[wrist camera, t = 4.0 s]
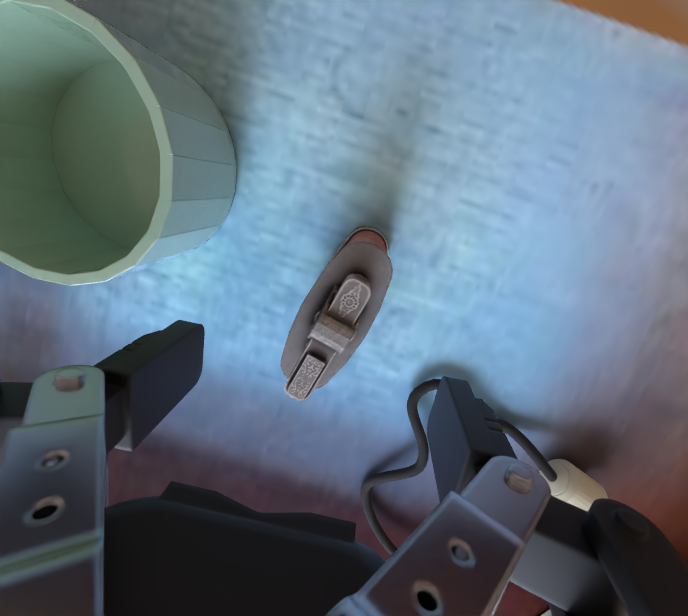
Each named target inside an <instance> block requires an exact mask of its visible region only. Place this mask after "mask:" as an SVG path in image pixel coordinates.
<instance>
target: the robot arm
mask: <svg viewBox="0 0 688 616" xmlns="http://www.w3.org/2000/svg"><path fill="white" fill-rule="evenodd" d="M203 348H204V327H203V325H202V324H197V323H192V322H187V321H183V320H178V321H176V322H174V323H173V324H171V325H170V326H168V327H167V328H165V329H164V330H162V331H160V330H159V331H156V332H153V333H149V334H146V335H143V336H141V337H140V338H138V339H137V340H135V341H133V342H132V344H128V345H127V346H125V347H124V348H123V349H122V350H119V351H117V352H115V353H114V354H112V355H110V356H109V357H107V358H106V359H104V360H102V361H101V362H99V363H97V364H96V365H94V366H87V365H71V366H64V367H59V368H56V369H53V370H50V371H47V372H45V373H43V374H41V375H40V376H38V377H37V378H36V379H35V380H34V382H33V383H15V382H1V378H0V616H493V615H494V613H495V611H496V609H497V607H498V605H499V603H500V601H501V599H502V597H503V595H504V593H505V591H506V589H507V587H508V585H509V583H510V581H511V582H512V583H514V584H516V585H518V586H520V587H522V588H524V589H525V590H527V591H529V592H531V593H533V594H535V595H537V596H538V597H540V598H542V599H544V600H546V601H547V602H548V605H549V608H550V611H551V614H552V616H688V566H687V564H686V563H685V562H684V560H683V559H682V558H681V556H680V555H679V554H678V553H677V551H676V550H675V549H674V547H673V546H672V545H671V543H670V542H669V541H668V539H667V538H666V537H665V535H664V534H663V533H662V532H661V531H660V530H659V529H658V528H657V527H656V526H655V525H654V524H653V523H652V522H651V521H650V520H649V519H647V518H646V517H645V516H643V515H642V514H640V513H639V512H637V511H636V510H634V509H632V508H631V507H629V506H627V505H625V504H623V503H620V502H618V501H614V500H611V499H605V498H600V499H596V500H595V501H594V502H593V503H592V505H591V507H590V509H589V510H588V512H587V511H585V510H583V509H581V508H578V507H576V506H574V505H571V504H569V503H567V502H565V501H562V500H560V499H558V498H556V497H554V496H552V495H551V489H550V486H549V484H548V482H547V481H546V480H545V478H544V477H543V476H542V475H541V474H540V473H539V472H538V471H536V470H535V469H534V468H532V467H531V466H529V465H528V464H526V463H524V462H522V461H520V460H518V459H517V457H516V455H515V453H514V451H513V449H512V447H511V445H510V443H509V441H508V439H507V437H506V435H505V433H503V429H502V427H501V425H500V423H498V419H497V417H496V415H495V413H494V411H493V410H492V409H491V408H490V407H489V406H488V405H487V404H486V403H485V402H484V401H483V400H482V399H478V398H475V397H474V394H473V392H472V390H471V388H470V385H469V383H468V381H466V380H461V379H456V378H451V377H447V376H443V377H442V379H441V381H440V383H439V387H438V390H437V393H436V396H435V400H434V403H433V406H432V409H431V413H430V416H429V420H428V428H427V435H428V441H429V446H430V452H431V457H432V462H433V468H434V473H435V478H436V484H437V489H438V494H439V500H440V503H439V504H438V505H437V507H436V508H435V509H434V510H433V511H432V512H431V513H430V514H429V515H428V516H427V517H426V518H425V520H424V521H423V522H422V523H421V524H420V525H419V526H418V527H417V528H416V529H415V530H414V532H413V533H412V534H411V535H410V536H409V537H408V538H407V539H406V540H405V541H404V542H403V543H402V545H401V546H400V547H399V548H398V549H397V550H396V551H395V552H394V553H393V554H392V555H391V556H390V558H389V559H388V560H387V561H386V562H385V561H384V560H383V559H382V558H381V557H380V556H379V555H377V554H376V553H375V552H374V551H373V550H371V549H369V548H368V547H366V546H365V545H363V544H362V543H360V542H358V541H356V540H355V529H356V523H354V522H349V521H345V520H340V519H336V518H332V517H327V516H323V515H318V514H314V513H260V512H256V511H254V510H252V509H250V508H248V507H246V506H244V505H242V504H240V503H238V502H236V501H234V500H232V499H230V498H228V497H226V496H224V495H222V494H220V493H218V492H216V491H212V490H208V489H204V488H199V487H195V486H190V485H186V484H182V483H177V482H173V481H171V482H170V484H169V485H168V486H167V488H166V489H165V491H164V492H163V493H162V495H161V496H152V497H142V498H137V499H132V500H128V501H124V502H121V503H117V504H114V505H112V506H109V507H108V455H107V454H108V453H109V452H110V451H111V450H112V449H113V448H118V449H122V450H126V451H131V452H132V451H133V450H134V449H135V448H136V447H137V446H138V445H139V444H140V443H141V442H142V440H143V439H144V438H145V437H146V436H147V435H148V434H149V433H150V432H151V431H152V430H153V429H154V428H155V427H156V426H157V425H158V424H159V423H160V422H161V421H162V419H163V418H164V417H165V416H166V415H167V414H168V413H169V412H170V411H171V410H172V409H173V408H174V407H175V406H176V405H177V404H178V403H179V402H180V401H181V400H182V398H183V397H184V396H185V395H186V394H187V393H188V392H189V391H190V390H191V389H192V388H193V387H194V386H195V385H196V383H197V382H198V380H199V378H200V375H201V371H202V364H203Z"/></svg>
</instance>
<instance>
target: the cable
mask: <svg viewBox="0 0 688 616" xmlns="http://www.w3.org/2000/svg"><path fill="white" fill-rule="evenodd" d="M440 381H441V379H432V380H429V381H425V382H423V383H422V384H420V385H419V386H417V387H416V388H415V389H414V390H413V391H412V392H411V393H410V395H409V398H408V400H407V411H408V416H409V419H410V422H411V425H412V428H413V431H414V434H415V437H416V440H417V444H418V450H419V452H418V459H417V462H416V463H415V464H414V465H412V466H409V467H406V468H402V469H397V470H392V471H387V472H382V473H378V474H375V475H373V476H371V477H369V478H368V479H366V480H365V481H364V483H363V484H362V487H361V501H362V505H363V509H364V512H365V515H366V517H367V520H368V522H369V524H370V526H371V528H372V530H373V532H374V533H375V535H376V536H377V538H378V540H379V541H380V543H381V544H382V545H383V546H384V548H385V549H386V550H387V552H388V553H389V554H390V555H392V554H393V553H394V552H395V551H396V550H397V548H396V547H395V546H394V544H393V543H392V542H391V541H390V539H389V538H388V537H387V535H386V534H385V532H384V531H383V529H382V527H381V526H380V524H379V522H378V520H377V518H376V516H375V513H374V511H373V508H372V505H371V500H370V489H371V488H372V487H373V486H375V485H377V484H380V483H384V482H389V481H395V480H401V479H406V478H410V477H413V476H416V475H418V474H419V473H421V472H422V471H423V470H424V468H425V467H426V464H427V461H428V454H429V450H428V443H427V439H426V435H425V432H424V429H423V426H422V424H421V421H420V418H419V414H418V410H417V403H418V401H419V399H420V398H421V397H422V396H423V395H424V394H426V393H427V392H429V391H432V390H435V389H437V390H438V387H439V383H440ZM498 423H500V425H501V427H502V429H503V432H505V433H507V434H508V435H509V436H510V437H512V438H513V439H514V440H515V441H516V442H517V443H518V444H519V445H520V446H521V447H522V448H523V449H524V450H525V451H526V452H527V454H528V455H529V456H530V457H531V458H532V460H533V461H534V462H535V463H536V465H537V466H538V467H539V469H540V471H539V473H540V474H541V475H542V476H543V477H544V478H545V480H546V481H547V482H548V484H549V486H550V489H551V495H552V496H554V497H556V498H558V499H560V500H562V501H565V502H567V503H569V504H571V505H574V506H576V507H578V508H581V509H583V510H585V511H587V512H588V510H589V509H590V507H591V505H592V503H593V502H594V501H595V500H596V499H600V498H605V499H608V498H607V494H606V492H605V490H604V489H603V487H602V486H601V485H600V484H599V483H597V482H596V481H595V480H593V479H592V478H591V477H589V476H588V475H586V474H585V473H584V472H582V471H581V470H580V469H578V468H577V467H575V466H574V465H573V464H571V463H570V462H568V461H566V460H563V459H553V460H551V461H548V462H547V461H546V460H545V458H544V457H543V456H542V455H541V453H540V452H539V451H538V450H537V449H536V447H535V446H534V445H533V444H532V443H531V442H530V441H529V440H528V439H527V438H526V437H525V436H524V435H523V434H522V433H521V432H520V431H519V430H518V429H516V428H515V427H514V426H512V425H511V424H509V423H508V422H506V421H503V420H501V419H498Z"/></svg>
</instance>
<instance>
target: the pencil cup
mask: <svg viewBox="0 0 688 616" xmlns="http://www.w3.org/2000/svg"><path fill="white" fill-rule="evenodd" d="M235 187H236V159H235V152H234V147H233V143H232V139H231V136H230V133H229V130H228V127H227V125H226V123H225V121H224V119H223V117H222V115H221V113H220V111H219V110H218V108H217V106H216V105H215V103H214V102H213V100H212V99H211V98H210V97H209V95H208V94H207V93H206V91H205V90H204V89H203V88H202V87H201V86H200V85H199V84H198V83H197V82H196V81H195V80H194V79H193V78H191V77H190V76H189V75H188V74H186V73H185V72H184V71H183V70H182V69H180V68H179V67H177V66H175V65H174V64H172V63H170V62H169V61H167V60H165V59H164V58H162V57H161V56H159V55H157V54H156V53H154V52H152V51H151V50H149V49H148V48H146V47H144V46H143V45H141V44H139V43H138V42H136V41H134V40H133V39H131V38H130V37H128V36H126V35H125V34H123V33H121V32H120V31H118V30H116V29H115V28H113V27H112V26H110V25H108V24H107V23H105V22H103V21H102V20H100V19H99V18H97V17H95V16H94V15H92V14H90V13H88V12H87V11H85V10H83V9H81V8H80V7H78V6H76V5H75V4H73V3H71V2H69V1H68V0H0V261H1V262H3V263H5V264H6V265H8V266H10V267H12V268H14V269H16V270H18V271H20V272H22V273H24V274H26V275H28V276H30V277H32V278H35V279H40V280H44V281H49V282H54V283H59V284H64V285H68V286H70V285H71V286H75V285H83V284H92V283H101V282H106V281H109V280H112V279H115V278H118V277H121V276H124V275H127V274H130V273H133V272H136V271H139V270H142V269H145V268H148V267H151V266H154V265H157V264H160V263H163V262H166V261H169V260H172V259H175V258H178V257H180V256H182V255H184V254H187V253H189V252H191V251H193V250H195V249H197V248H199V247H200V246H202V245H203V244H205V243H206V242H207V241H208V240H209V239H210V238H211V237H213V236H214V234H215V233H216V232H217V231H218V230H219V228H220V227H221V225H222V224H223V222H224V220H225V219H226V217H227V215H228V212H229V210H230V208H231V205H232V201H233V198H234V193H235Z"/></svg>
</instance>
